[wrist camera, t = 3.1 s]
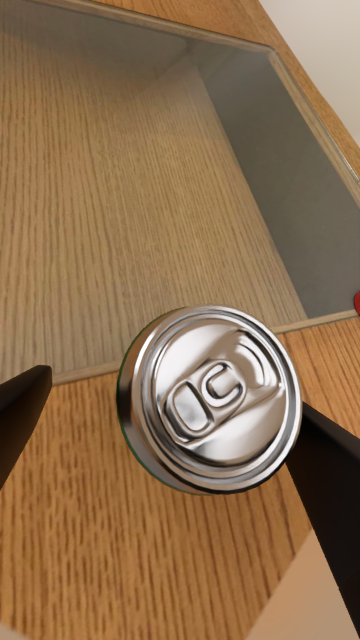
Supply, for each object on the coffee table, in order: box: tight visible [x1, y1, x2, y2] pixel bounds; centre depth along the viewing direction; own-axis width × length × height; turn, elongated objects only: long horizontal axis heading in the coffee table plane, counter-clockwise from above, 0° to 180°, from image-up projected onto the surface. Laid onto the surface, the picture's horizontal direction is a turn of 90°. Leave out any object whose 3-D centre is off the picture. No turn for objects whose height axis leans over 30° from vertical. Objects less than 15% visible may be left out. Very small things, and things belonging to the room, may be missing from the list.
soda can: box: [116, 303, 302, 496], centre depth 11 cm, size 5×5×12 cm
